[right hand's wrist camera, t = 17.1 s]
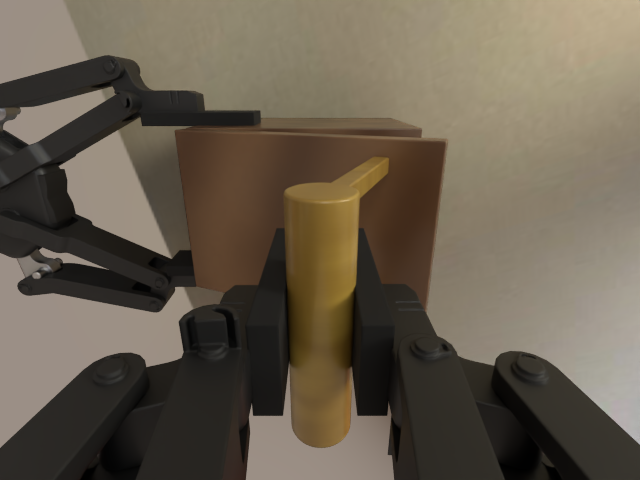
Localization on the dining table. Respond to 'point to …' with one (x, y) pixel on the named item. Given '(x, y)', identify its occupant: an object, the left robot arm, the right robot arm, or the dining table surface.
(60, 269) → the left robot arm
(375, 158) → the lid
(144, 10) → the dining table surface
